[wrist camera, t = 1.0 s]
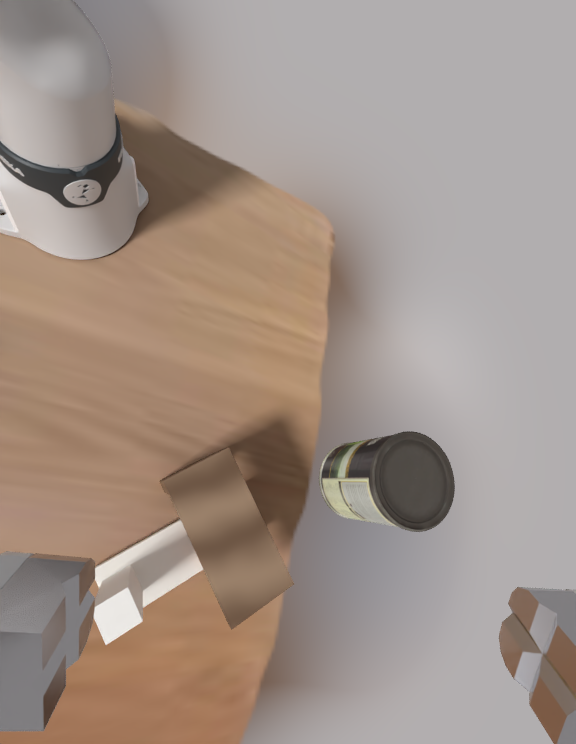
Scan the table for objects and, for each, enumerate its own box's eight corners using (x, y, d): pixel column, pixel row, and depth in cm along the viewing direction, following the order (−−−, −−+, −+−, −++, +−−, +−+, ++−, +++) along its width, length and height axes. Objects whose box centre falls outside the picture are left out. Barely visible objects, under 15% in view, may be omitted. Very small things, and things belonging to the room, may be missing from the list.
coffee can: (318, 440, 54) (372, 427, 42) (383, 445, 58) (451, 435, 45) (316, 519, 51) (374, 531, 39) (385, 520, 55) (458, 532, 42)
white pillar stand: (92, 568, 42) (76, 595, 31) (241, 484, 49) (267, 484, 39) (115, 621, 41) (107, 667, 31) (263, 528, 49) (294, 540, 38)
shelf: (159, 480, 46) (163, 480, 37) (213, 453, 49) (228, 447, 40) (214, 600, 45) (231, 629, 36) (266, 565, 48) (294, 584, 39)
